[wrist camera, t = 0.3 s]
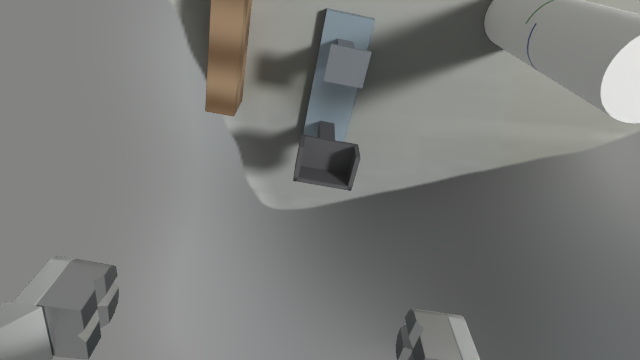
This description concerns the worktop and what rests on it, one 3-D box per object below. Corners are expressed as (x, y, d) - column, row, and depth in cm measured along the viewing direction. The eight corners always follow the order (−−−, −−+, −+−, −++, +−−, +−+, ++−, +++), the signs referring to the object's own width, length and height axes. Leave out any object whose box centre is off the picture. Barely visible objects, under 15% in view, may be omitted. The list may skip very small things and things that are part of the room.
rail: (223, -24, 49) (211, -19, 43) (253, -17, 49) (245, -12, 44) (216, 95, 56) (205, 111, 51) (242, 100, 56) (233, 116, 51)
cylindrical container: (475, 41, 52) (582, 114, 30) (497, -20, 48) (636, 14, 27) (528, 51, 53) (668, 130, 31) (553, -8, 49) (733, 34, 27)
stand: (322, 7, 50) (322, 27, 39) (377, 19, 51) (392, 42, 40) (298, 137, 59) (292, 184, 48) (345, 146, 60) (350, 194, 49)
